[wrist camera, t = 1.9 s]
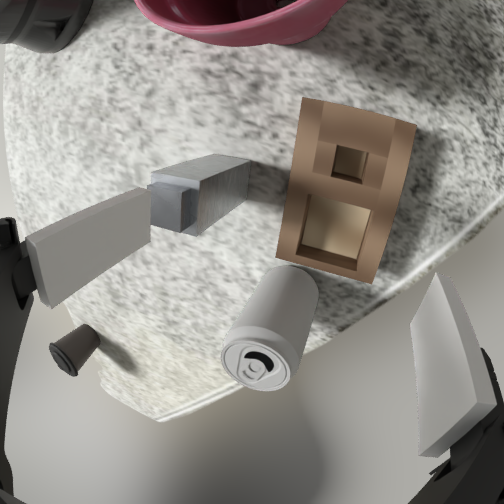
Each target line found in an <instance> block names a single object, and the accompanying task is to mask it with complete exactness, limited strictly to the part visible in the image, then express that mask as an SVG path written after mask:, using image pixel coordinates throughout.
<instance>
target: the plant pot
mask: <svg viewBox="0 0 504 504" xmlns="http://www.w3.org/2000/svg"><path fill="white" fill-rule="evenodd" d="M134 1H135V3H136V5H137V7H138V8H139V9H140V11H141V12H142V13H143V14H144V15H145V16H146V17H147V18H148V19H149V20H151V21H152V22H154V23H155V24H157V25H159V26H161V27H163V28H165V29H168V30H170V31H172V32H175V33H177V34H180V35H183V36H186V37H188V38H191V39H194V40H198V41H201V42H204V43H208V44H213V45H220V46H231V47H245V46H256V45H262V44H268V43H270V44H279V45H285V44H294V43H299V42H302V41H305V40H307V39H309V38H311V37H313V36H315V35H316V34H318V33H319V32H320V31H321V30H322V29H323V28H324V27H325V26H326V25H327V24H328V22H329V20H330V19H331V16H332V15H334V14H335V13H336V12H337V11H338V10H339V9H340V8H341V7H342V6H343V5H344V4H345V3H346V2H347V0H296V1H295V2H294V3H292V4H290V5H288V6H286V7H283V8H279V7H278V6H277V4H276V3H277V0H134Z"/></svg>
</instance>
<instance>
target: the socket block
mask: <svg viewBox="0 0 504 504" xmlns="http://www.w3.org/2000/svg"><path fill="white" fill-rule="evenodd" d="M416 126H417V125H415V124H411V123H408V122H405V121H402V120H399V119H395V118H392V117H389V116H385V115H381V114H378V113H374V112H370V111H366V110H362V109H358V108H354V107H350V106H345V105H341V104H336V103H331V102H326V101H321V100H316V99H310V98H304V97H302V103H301V110H300V116H299V122H298V129H297V135H296V141H295V148H294V154H293V160H292V166H291V172H290V178H289V184H288V190H287V196H286V201H285V207H284V213H283V218H282V224H281V230H280V235H279V241H278V246H277V252H276V257H275V258H279V259H282V260H286V261H290V262H293V263H297V264H301V265H304V266H308V267H311V268H315V269H319V270H322V271H326V272H329V273H333V274H337V275H340V276H344V277H347V278H351V279H355V280H358V281H362V282H365V283H369V284H372V282H373V280H374V277H375V274H376V272H377V269H378V266H379V263H380V260H381V257H382V255H383V252H384V249H385V246H386V243H387V240H388V236H389V233H390V230H391V227H392V224H393V220H394V217H395V214H396V210H397V207H398V203H399V200H400V196H401V192H402V189H403V185H404V181H405V177H406V173H407V169H408V164H409V160H410V156H411V151H412V146H413V142H414V137H415V132H416Z"/></svg>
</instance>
